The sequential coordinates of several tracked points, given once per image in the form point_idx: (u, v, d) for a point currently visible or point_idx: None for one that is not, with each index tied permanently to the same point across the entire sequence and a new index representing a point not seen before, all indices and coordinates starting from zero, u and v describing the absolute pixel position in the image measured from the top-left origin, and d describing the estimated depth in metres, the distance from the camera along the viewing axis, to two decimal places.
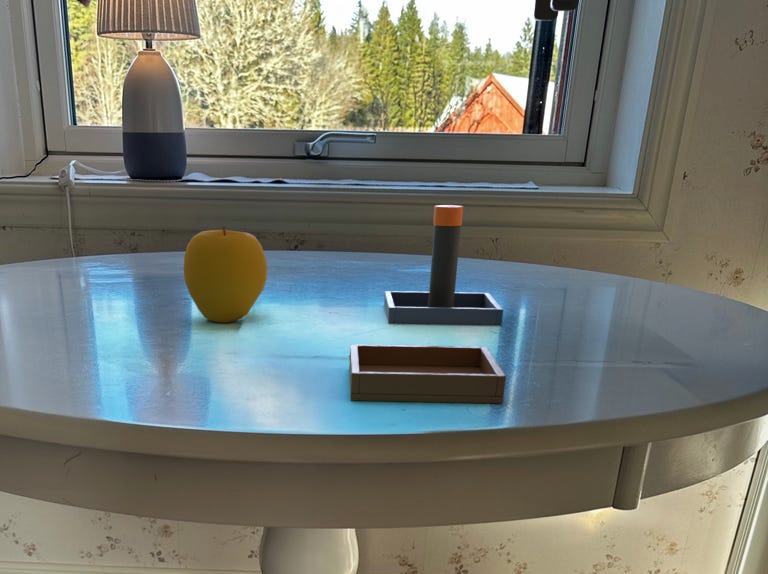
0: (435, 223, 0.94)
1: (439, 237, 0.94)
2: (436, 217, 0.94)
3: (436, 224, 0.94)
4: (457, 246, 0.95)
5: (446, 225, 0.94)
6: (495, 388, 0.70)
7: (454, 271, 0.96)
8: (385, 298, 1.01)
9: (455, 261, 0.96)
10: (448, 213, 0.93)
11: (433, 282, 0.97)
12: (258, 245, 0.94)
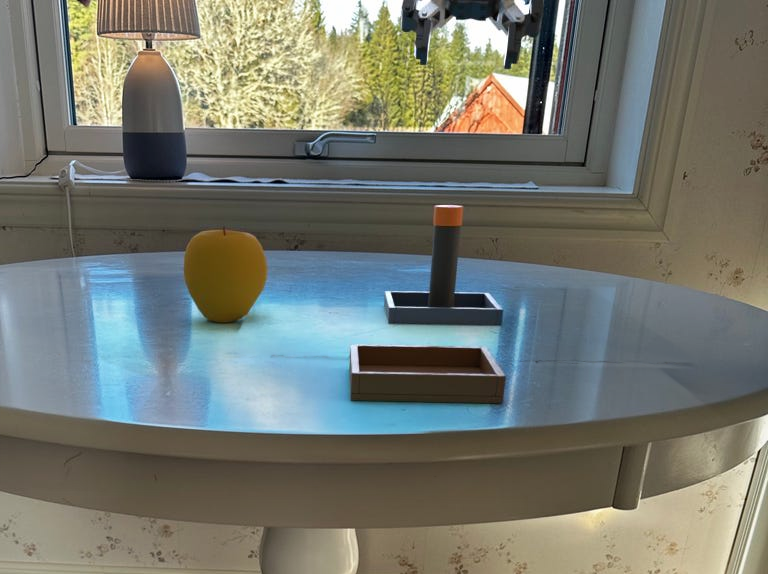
0: (435, 223, 0.94)
1: (439, 237, 0.94)
2: (436, 217, 0.94)
3: (436, 224, 0.94)
4: (457, 246, 0.95)
5: (446, 225, 0.94)
6: (495, 388, 0.70)
7: (454, 271, 0.96)
8: (385, 298, 1.01)
9: (455, 261, 0.96)
10: (448, 213, 0.93)
11: (433, 282, 0.97)
12: (258, 245, 0.94)
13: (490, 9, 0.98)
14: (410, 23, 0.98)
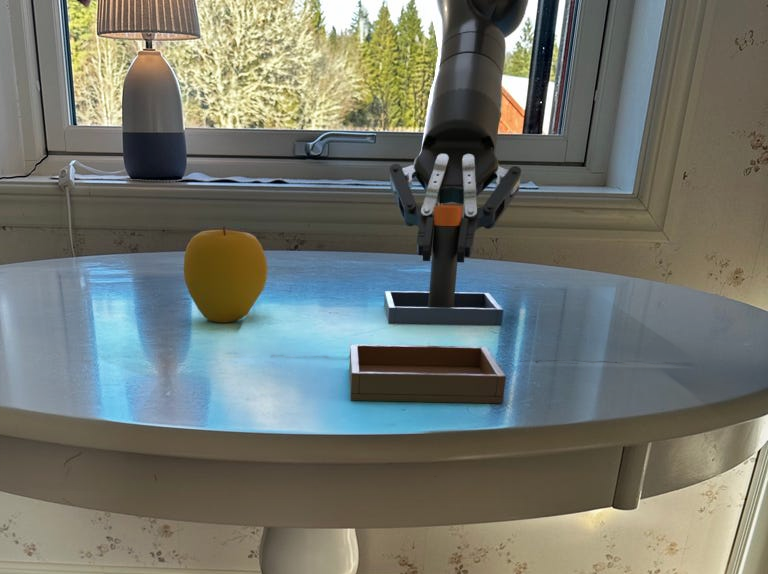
0: (435, 223, 0.94)
1: (439, 237, 0.94)
2: (436, 217, 0.94)
3: (436, 224, 0.94)
4: (457, 246, 0.95)
5: (446, 225, 0.94)
6: (495, 388, 0.70)
7: (454, 271, 0.96)
8: (385, 298, 1.01)
9: (455, 261, 0.96)
10: (448, 213, 0.93)
11: (433, 282, 0.97)
12: (258, 245, 0.94)
13: None
14: (413, 219, 0.96)
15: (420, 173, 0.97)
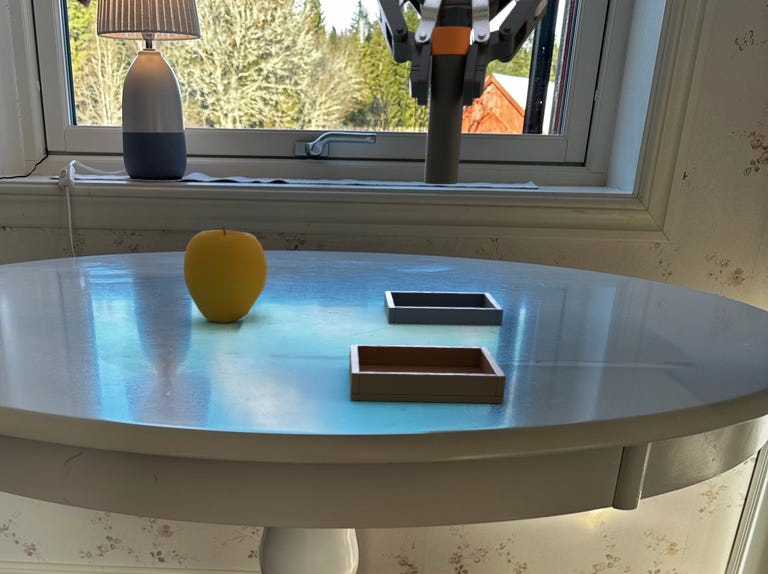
0: (433, 52, 0.70)
1: (439, 71, 0.70)
2: (435, 43, 0.70)
3: (435, 53, 0.70)
4: None
5: (448, 53, 0.70)
6: (495, 388, 0.70)
7: (459, 120, 0.72)
8: (385, 298, 1.01)
9: (460, 106, 0.72)
10: (451, 35, 0.69)
11: (431, 136, 0.73)
12: (258, 245, 0.94)
13: None
14: (404, 50, 0.72)
15: None
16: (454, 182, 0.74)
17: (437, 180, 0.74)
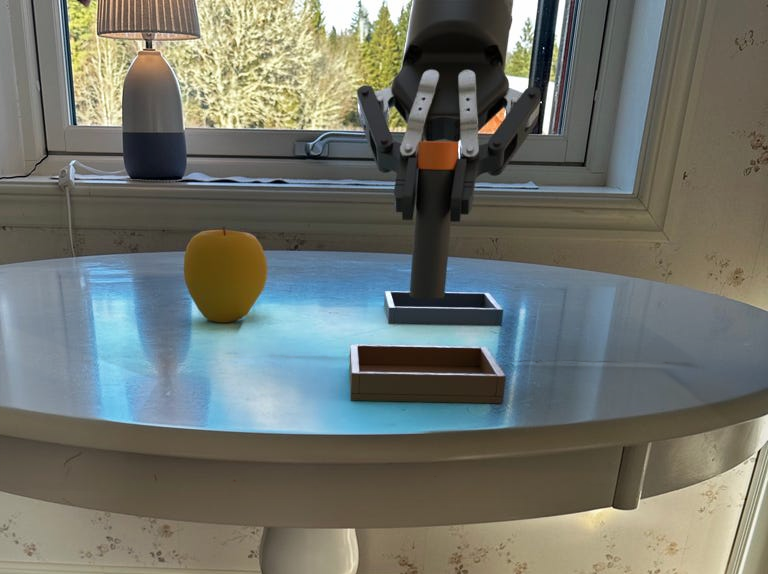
0: (419, 166, 0.67)
1: (425, 185, 0.67)
2: (421, 157, 0.67)
3: (421, 167, 0.67)
4: (450, 198, 0.68)
5: (435, 168, 0.66)
6: (495, 388, 0.70)
7: (446, 235, 0.69)
8: (385, 298, 1.01)
9: (448, 220, 0.68)
10: (438, 150, 0.66)
11: (417, 250, 0.69)
12: (258, 245, 0.94)
13: None
14: (389, 161, 0.69)
15: (399, 98, 0.69)
16: (441, 296, 0.71)
17: (423, 295, 0.70)
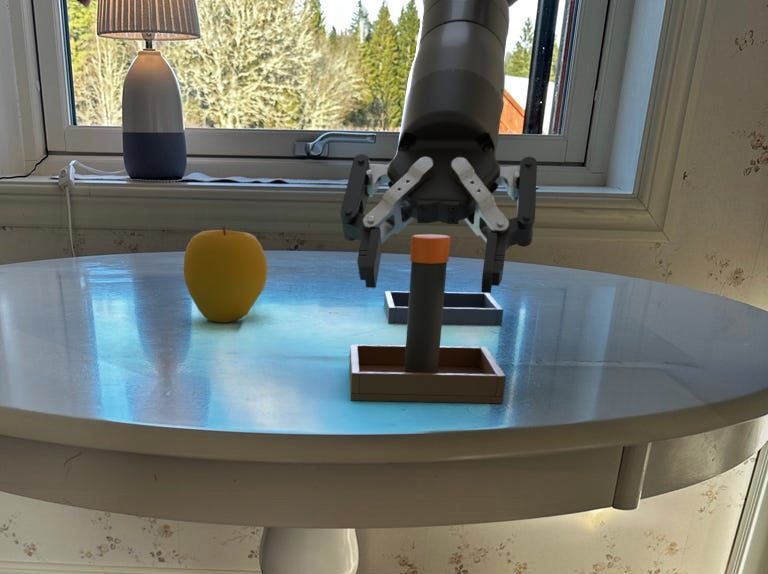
0: (412, 259, 0.70)
1: (418, 278, 0.70)
2: (414, 251, 0.69)
3: (414, 260, 0.70)
4: (442, 289, 0.71)
5: (427, 262, 0.69)
6: (495, 388, 0.70)
7: (438, 323, 0.72)
8: (385, 298, 1.01)
9: (440, 309, 0.71)
10: (430, 246, 0.69)
11: (410, 337, 0.72)
12: (258, 245, 0.94)
13: (463, 210, 0.71)
14: (353, 231, 0.72)
15: (395, 183, 0.72)
16: None
17: None
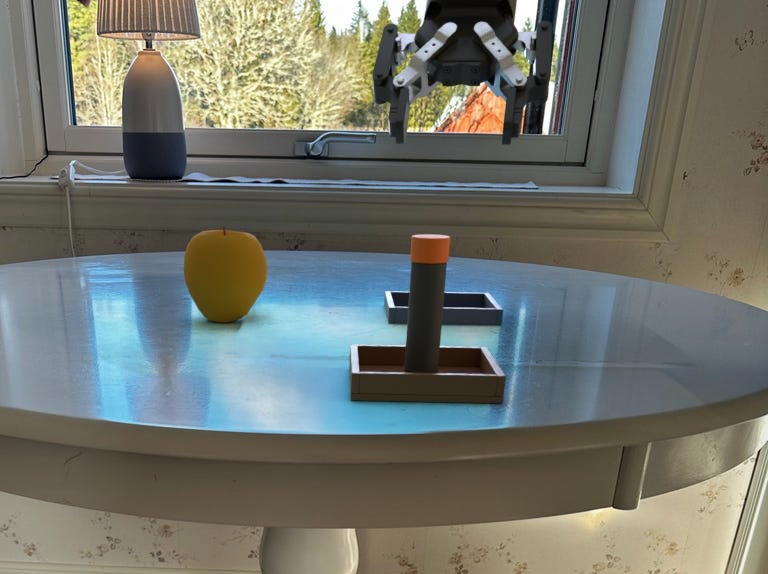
0: (412, 259, 0.70)
1: (418, 278, 0.70)
2: (414, 251, 0.69)
3: (414, 260, 0.70)
4: (442, 289, 0.71)
5: (427, 262, 0.69)
6: (495, 388, 0.70)
7: (438, 323, 0.72)
8: (385, 298, 1.01)
9: (440, 309, 0.71)
10: (430, 246, 0.69)
11: (410, 337, 0.72)
12: (258, 245, 0.94)
13: (484, 71, 0.78)
14: (384, 93, 0.79)
15: None
16: None
17: None
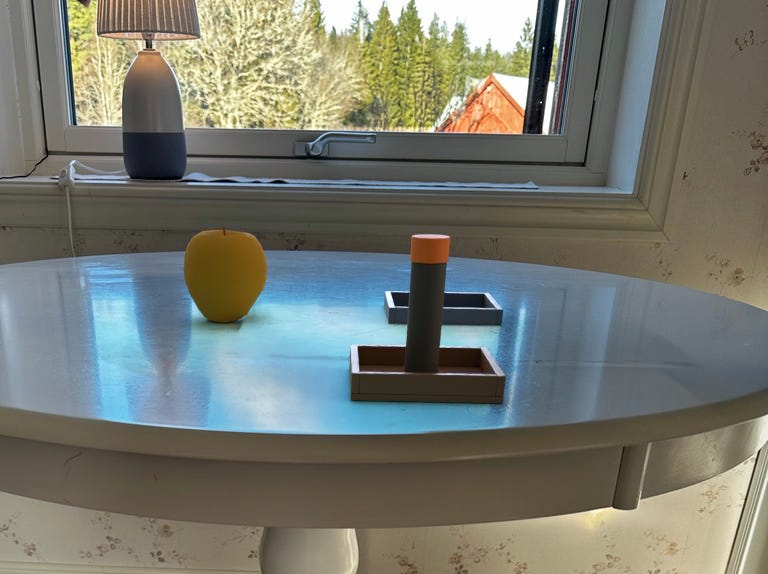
0: (412, 259, 0.70)
1: (418, 278, 0.70)
2: (414, 251, 0.69)
3: (414, 260, 0.70)
4: (442, 289, 0.71)
5: (427, 262, 0.69)
6: (495, 388, 0.70)
7: (438, 323, 0.72)
8: (385, 298, 1.01)
9: (440, 309, 0.71)
10: (430, 246, 0.69)
11: (410, 337, 0.72)
12: (258, 245, 0.94)
13: None
14: None
15: None
16: None
17: None
